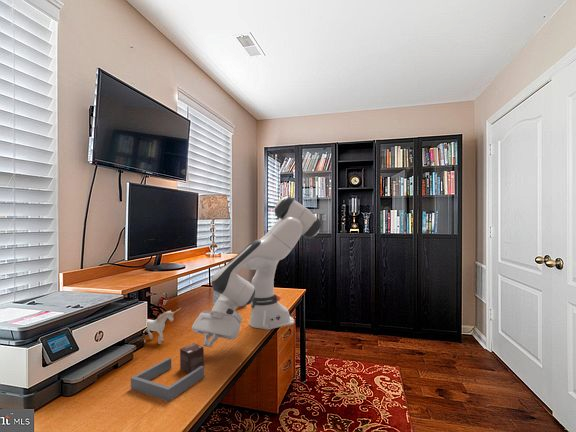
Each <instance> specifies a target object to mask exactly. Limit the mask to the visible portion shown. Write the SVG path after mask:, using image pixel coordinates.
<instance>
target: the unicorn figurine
mask: <svg viewBox="0 0 576 432" xmlns="http://www.w3.org/2000/svg"><path fill="white" fill-rule="evenodd" d="M181 309H182V307H180V308H179V309H176V310H175V311H172V310H171V309H170V310H168V311H163V313H161V314H160V315H159V316H157V318H156V319H149V318H147V328H146V329H145V330H144V331H143V333H144V334H145V332H146V333H148V337H149V339H150V341H151V340H152V341H153V337H154V336H153V333H152V332H157V333H158V334H159V335H158V336H157V338H158V339H157V344H158V345H160V344H161V343H162V342H164V341H165V340H164V333H163V331H164V329H165V327H166V324H165V323H166V321H167V319H168V320H169V322H173V321H174V314H175V313H177V312H179V311H180V310H181ZM145 343H147V341H146V339H144V343H143V344H145Z"/></svg>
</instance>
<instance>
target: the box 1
mask: <svg viewBox="0 0 576 432" xmlns="http://www.w3.org/2000/svg"><path fill="white" fill-rule="evenodd" d="M170 369H172V358H171V357H167V358H165V359H163V360H162V361H160V362H158V363H155V365H152V366H150V367H148V368H147V369H145V370H143V371H141V372H139V373H137V374H135V375H134V376H132V377H130V389H131V390H132V391H137V392H139V393H141V394H145V395H147V396H150V397H154V398H157V399H160V400H162V401H165V402H169V403H170V402H171V401H172V400H173V399H175V398H177V396H179V395H180V394H182V393H183V392H185V391H186V390H188V389H189V388H191V387H192V386H194V385H195V384H196V383H198V382H199V381H201V380H202V379H204V378H205V365H204V366H200V367H199V368H197V369H196V370H194V371H192V372H191V373H188V374H186V375H185V376H183V377H181V378H180V379H179V380H177V381H175V382H173V383H172V384H171V385H169V386H167V385H164V384H162V383H157V382H154V381H152V380H153V379H155V378H156V377H158V376H160V375H161V374H164V373H165V372H167V371H169V370H170Z"/></svg>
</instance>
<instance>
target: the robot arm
mask: <svg viewBox="0 0 576 432" xmlns="http://www.w3.org/2000/svg"><path fill="white" fill-rule="evenodd" d="M274 214H275V216H276V217H277V218H276V222H275V224H273V225H272V227H271V228H270V229H269V230H268V231H267V232H266V234H264V235H263V236H262V237H261V238H260V239H255V240H252V241H251V242H250V243H249V244H248V245H247V246H245V247H244V248H242V250H241V251H239V253H238V254H236V255H235V256H234V257H233V258H232V259H230V261H229V262H227V263H226V264H225V265H224V266H221V268H220V269H218V270H217V271H216V272H215V273H214V274H213V276H212V277H211V281H210V282H211V285H212V291H213V290H214V291H216V292H218V293H220V296H219V298H218V300H217V301H216V302H215V304H214V306H212V308H211V311H210V310H204V311H202V312H200V313H199V315H198V316H197V317H196V319H195V320H194V322H193V324H192V326H191V330H192V331H193V332H194V333H195V334H200V335H203V336H204V341H203V343H202V347H206V348H212V346H213V344H214V343H216V342H217V341H218V339H219V338H222V339H226V340H227V339H228V340H233V341H234V340H236V338H237V337H238V334H239V332H240V329H241V323H242V322H243V317H242V316H241V315H240V313H239V312H237V309H236V306H245V307H247V306H249V305H250V308H251V311H250V312H251V313H250V317H249V324H248V325H249V326H250V327H252V328H256V329H263V330H265V331H266V330H273V329H277V328H280V327H281V328H282V327H286V326H290V325H294V324H295V319H294V318H293V317H292V316H291V315H290V312H289V310H288V308H287V307H286V306H285V305H283V304H282V303H280V302H279V301H280V300H281V297H280V296H279V295H277V294H275V290H274V289H275V288H274V286H275V285H274V283H275V281H274V279H275V274H276V270H277V266H278V264H279V262H280V261H281V260H283V259H285V258H286V257H287V256H288V255H289V254H290V253H291V252H292V251H293V249H294V247H296V244H297V243H298V241H299V240H300V238H301V236H302V237H304V238H305V239H312V238H314V237H315V236H317V235H318V233H319V232H320V230H321V228H322V221H321V220H320V218H319V217H317V216H316V215H315V214H314V212H312V211H311V210H309V209H308V207H305V206H304V205H303V204H301V203H300V202H299V201H297V200H295V198H293V197H291V196H290V195H287V196H285V195H284V197H282V198H280V199H279V200H278V201H277V202H276V204H275V208H274ZM243 267H244V268H245V269H246V270H251V271H252V270H255V274H254V276H253V277H252V279H251V282H250V281H248V280H247V279H245V278H243V277H242V276H240V275H239V274H238V273H237V271H239V270H240V269H241V268H243ZM235 309H236V310H235ZM211 337H212V338H211ZM210 338H211V339H210Z"/></svg>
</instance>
